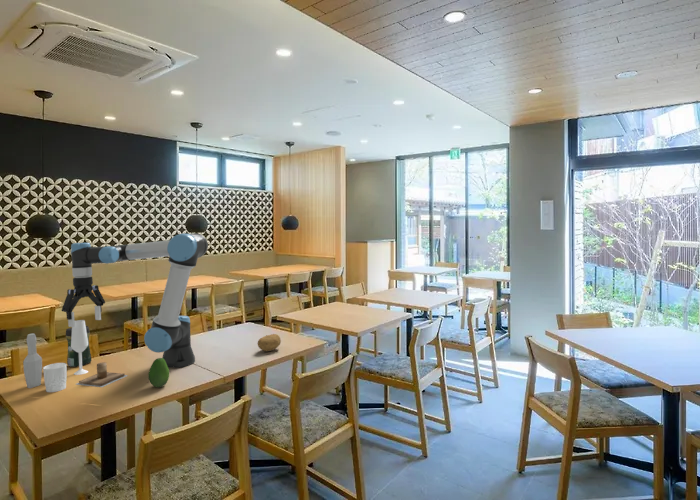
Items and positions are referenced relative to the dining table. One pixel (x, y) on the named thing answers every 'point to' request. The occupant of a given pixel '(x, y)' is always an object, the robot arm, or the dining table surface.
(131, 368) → the dining table surface
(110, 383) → the mat
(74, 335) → the champagne flute
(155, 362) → the avocado
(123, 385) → the dining table surface
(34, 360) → the faceted bottle
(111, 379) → the lid
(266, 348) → the potato
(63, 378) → the white cup
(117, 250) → the robot arm
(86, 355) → the wine bottles
